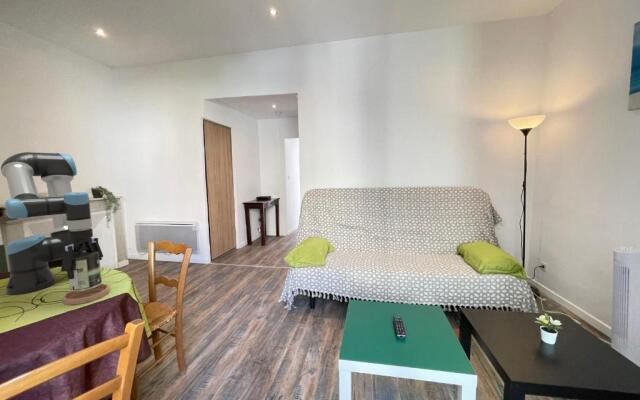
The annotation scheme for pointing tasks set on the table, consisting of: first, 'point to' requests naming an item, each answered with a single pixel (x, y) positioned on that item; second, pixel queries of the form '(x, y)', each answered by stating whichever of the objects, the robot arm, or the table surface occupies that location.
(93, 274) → the coffee can
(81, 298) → the saucer
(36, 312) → the table surface
